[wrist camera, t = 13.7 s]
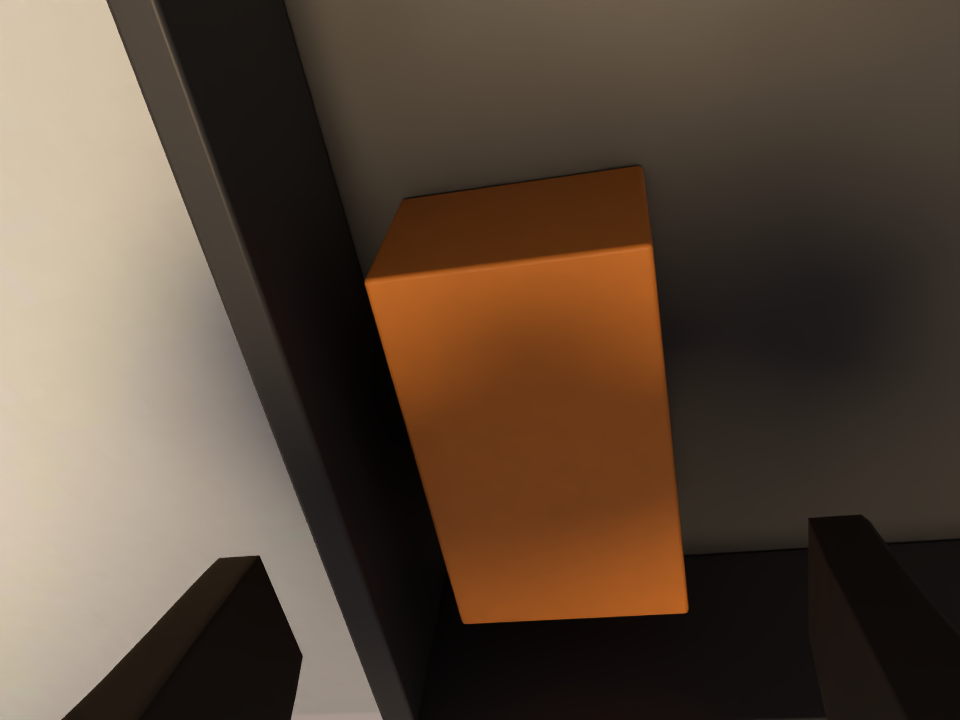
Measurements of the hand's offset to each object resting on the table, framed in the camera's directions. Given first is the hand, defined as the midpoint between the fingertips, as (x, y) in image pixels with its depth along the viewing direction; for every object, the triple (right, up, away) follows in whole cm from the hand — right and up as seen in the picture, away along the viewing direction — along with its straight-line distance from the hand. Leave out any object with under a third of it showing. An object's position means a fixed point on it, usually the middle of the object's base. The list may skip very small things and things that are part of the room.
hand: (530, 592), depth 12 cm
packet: (+1, +3, +5) cm, 6 cm away
